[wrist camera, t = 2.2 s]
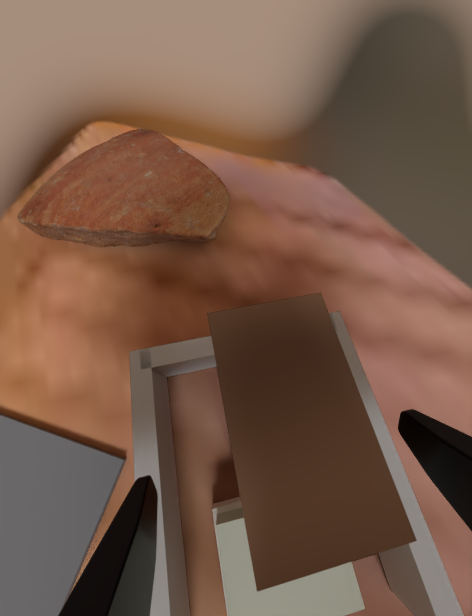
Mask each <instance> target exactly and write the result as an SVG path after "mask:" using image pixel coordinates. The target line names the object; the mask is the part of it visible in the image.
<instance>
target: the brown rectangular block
mask: <svg viewBox="0 0 472 616" xmlns="http://www.w3.org/2000/svg"><path fill="white" fill-rule="evenodd" d="M207 315H208V321H209V327H210V332H211V338H212V343H213V349H214V354H215V360H216V366H217V371H218V377H219V382H220V388H221V393H222V399H223V405H224V410H225V416H226V421H227V427H228V433H229V438H230V444H231V449H232V455H233V460H234V466H235V472H236V477H237V483H238V488H239V494H240V500H241V505H242V511H243V516H244V522H245V527H246V533H247V539H248V544H249V550H250V555H251V561H252V566H253V572H254V578H255V583H256V589H257V592H258V591H261V590H265V589H268V588H271V587H274V586H277V585H280V584H283V583H286V582H290V581H293V580H296V579H299V578H302V577H305V576H308V575H312V574H315V573H318V572H321V571H324V570H327V569H330V568H333V567H337V566H340V565H343V564H346V563H349V562H352V561H355V560H359V559H362V558H365V557H368V556H371V555H374V554H377V553H381V552H384V551H387V550H390V549H393V548H396V547H399V546H402V545H406V544H409V543H412V542H415V541H417V540H416V537H415V535H414V532H413V529H412V527H411V524H410V522H409V519H408V517H407V514H406V511H405V509H404V506H403V504H402V501H401V499H400V496H399V493H398V491H397V488H396V486H395V483H394V480H393V478H392V475H391V473H390V470H389V468H388V465H387V462H386V460H385V457H384V455H383V452H382V449H381V447H380V444H379V442H378V439H377V437H376V434H375V431H374V429H373V426H372V424H371V421H370V419H369V416H368V413H367V411H366V408H365V406H364V403H363V400H362V398H361V395H360V393H359V390H358V388H357V385H356V382H355V380H354V377H353V375H352V372H351V370H350V367H349V364H348V362H347V359H346V357H345V354H344V351H343V349H342V346H341V344H340V341H339V339H338V336H337V333H336V331H335V328H334V326H333V323H332V320H331V318H330V315H329V313H328V310H327V308H326V305H325V302H324V300H323V297H322V295H321V293H316V294H311V295H305V296H300V297H294V298H289V299H283V300H278V301H272V302H267V303H261V304H256V305H250V306H245V307H239V308H234V309H228V310H223V311H217V312H212V313H207Z"/></svg>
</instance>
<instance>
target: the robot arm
mask: <svg viewBox="0 0 472 616" xmlns="http://www.w3.org/2000/svg"><path fill="white" fill-rule="evenodd" d="M398 430H399V433H400V435H401V436H402V438H403V439H404V441H405V442H406V444H407V445H408V447H409V448H410V450H411V451H412V453H413V454H414V456H415V457H416V459H417V460H418V462H419V463H420V465H421V466H422V468H423V469H424V471H425V472H426V473H427V475H428V476H429V478H430V479H431V480H432V482H433V483H434V484H435V486H436V487H437V488H438V489H439V491H440V492H441V493H442V494H443V496H444V497H445V498H446V499H447V501H448V502H449V503H450V504H451V506H452V507H453V508H454V509H455V511H456V512H457V513H458V515H459V516H460V517H461V518H462V520H463V521H464V522H465V523H466V525H467V526H468V527H469V528H470V530H471V531H472V437H471V436H469V435H467V434H465V433H462V432H460V431H458V430H456V429H454V428H452V427H450V426H448V425H446V424H444V423H441V422H439V421H437V420H435V419H433V418H431V417H429V416H427V415H425V414H422V413H420V412H418V411H416V410H413V409H409V410H405V411H402V412H401V414H400V418H399V424H398ZM157 508H158V494H157V489H156V487H155V484H154V482H153V479H152V477H151V476H150V475H147V476H143V477H139V478H138V479H137V480H136V481H135V483H134V484H133V486H132V488H131V490H130V491H129V493H128V495H127V497H126V498H125V500H124V502H123V503H122V505H121V507H120V509H119V510H118V512H117V514H116V516H115V517H114V519H113V521H112V523H111V524H110V526H109V528H108V530H107V531H106V533H105V535H104V537H103V538H102V540H101V542H100V543H99V545H98V547H97V549H96V550H95V552H94V554H93V556H92V557H91V559H90V561H89V563H88V564H87V566H86V568H85V570H84V571H83V573H82V575H81V577H80V578H79V580H78V582H77V583H76V585H75V587H74V589H73V590H72V592H71V594H70V596H69V597H68V599H67V601H66V603H65V604H64V606H63V608H62V610H61V611H60V613H59V615H58V616H150V609H151V600H152V592H153V583H154V574H155V564H156V548H157Z"/></svg>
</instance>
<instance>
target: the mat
mask: <svg viewBox="0 0 472 616" xmlns="http://www.w3.org/2000/svg"><path fill="white" fill-rule="evenodd" d="M125 461H126V459H125V458H122V457H119V456H116V455H114V454H111V453H108V452H105V451H103V450H100V449H97V448H94V447H91V446H89V445H86V444H83V443H80V442H78V441H75V440H72V439H69V438H67V437H64V436H61V435H58V434H56V433H53V432H50V431H47V430H45V429H42V428H39V427H36V426H33V425H31V424H28V423H25V422H22V421H20V420H17V419H14V418H11V417H9V416H6V415H3V414H0V616H58V615H59V613H60V611H61V610H62V608H63V606H64V604H65V603H66V601H67V599H68V597H69V595H70V592H71V590H72V588H73V585H74V583H75V580H76V578H77V576H78V573H79V571H80V569H81V566H82V564H83V561H84V559H85V557H86V554H87V552H88V549H89V547H90V545H91V542H92V540H93V537H94V535H95V533H96V530H97V528H98V525H99V523H100V521H101V518H102V516H103V513H104V511H105V509H106V506H107V504H108V501H109V499H110V497H111V494H112V492H113V489H114V487H115V485H116V482H117V480H118V477H119V475H120V473H121V470H122V468H123V465H124V463H125Z"/></svg>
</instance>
